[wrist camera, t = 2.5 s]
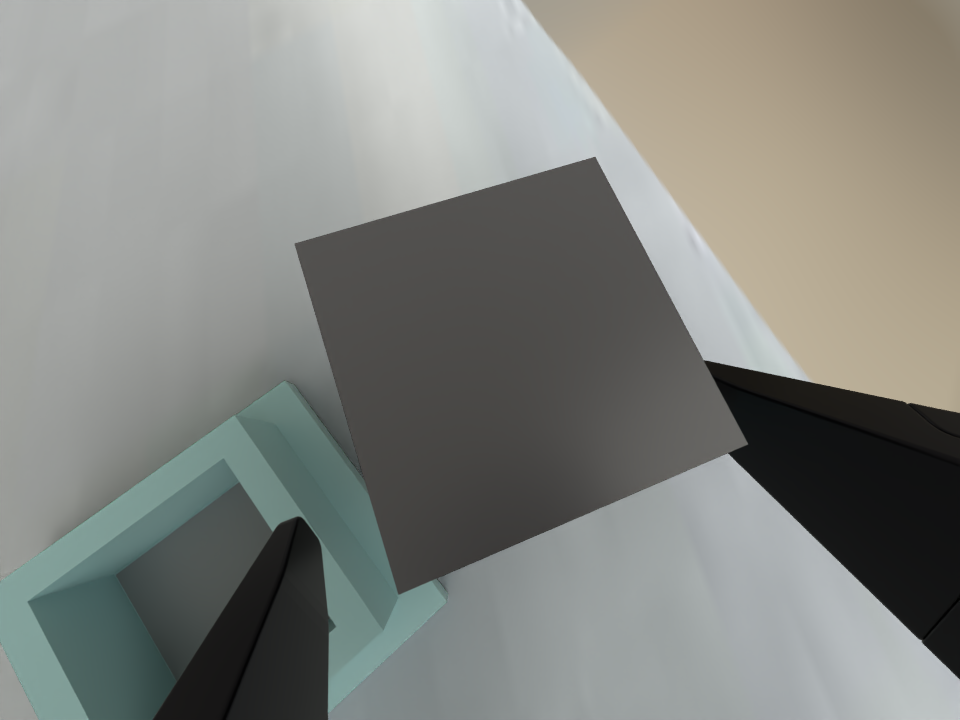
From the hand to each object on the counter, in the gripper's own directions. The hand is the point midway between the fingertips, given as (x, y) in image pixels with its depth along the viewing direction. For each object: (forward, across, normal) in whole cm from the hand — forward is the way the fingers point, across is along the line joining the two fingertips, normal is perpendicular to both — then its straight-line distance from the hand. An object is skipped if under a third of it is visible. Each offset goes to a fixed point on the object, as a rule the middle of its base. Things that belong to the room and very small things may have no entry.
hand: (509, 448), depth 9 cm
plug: (+7, 0, +5) cm, 9 cm away
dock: (+5, +10, +7) cm, 14 cm away
